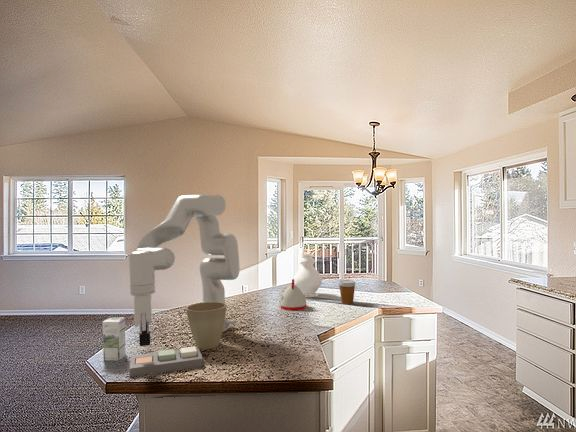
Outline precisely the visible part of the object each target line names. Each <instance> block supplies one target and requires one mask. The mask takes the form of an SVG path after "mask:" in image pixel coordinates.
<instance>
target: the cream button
mask: <svg viewBox="0 0 576 432" xmlns="http://www.w3.org/2000/svg"><path fill="white" fill-rule="evenodd" d="M196 347H197V346H187V347H180V348H179V349H180V356H181V358H185V357H192V356H197V350H196Z"/></svg>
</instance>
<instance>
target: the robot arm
mask: <svg viewBox="0 0 576 432" xmlns="http://www.w3.org/2000/svg"><path fill="white" fill-rule="evenodd" d="M172 204H173V205H172V206H171V208H170V209H169V211H168V213H167V215H166V217H165V218H164V219H163V221H162V222H161V223H159V224H158V225H157V226H155V227H154V228H152V229H150V230H149V231H148V232H147V233H145V234H144V235H143V236H142V237H141V239H140V240H139V242H138V243H137V245H136V247H135V248H134V251H132V252H130V254H129V256H128V262H129V265H128V266H129V288H130V289H129V290H130V296H133V317H134V319H133V320H134V322H133V323H134V327H135V328H137V327H138V326H139V336H138V337H139V347H145V346H150V345H151V331H150V325H151V322H152V314H153V312H152V310H153V308H152V307H153V306H152V303H153V301H152V295H153V294H155V293H156V281H155V279H156V278H155V276H156V275H155V271H165V270H168V269H170V268H171V267H172V266H173V265H174V263H175V258H176V257H175V253H174V252H173V251H172V250H171V249H170V248H167V247H160V246H161V245H162V244H164V243H167V242H170V241H173V240H176V239H178V238H179V237H181V236H183V235H184V234H185V232H186V230H187V228H188V226H189V225H190V222H191V220H192V219H193V218H194V219H195V221H196V222H197V224H198V228H199V239H200V249H201V252H202V254H204V255H206V256H223V257H207V258H204V259H203V260H201V262H200V264H199V274H200V278H201V279H200V280H201V287H202V288H201V289H202V302H222V303H225V304H226V299H225V297H226V294H225V293H226V290H225V286H224V284H223V283H222V281H233V280H236V279H237V278H239V276H240V275H239V274H240V269H241V267H240V254H239V242H238V240H237V237H236V236H235V235H233V234H232V233H227V232H226V233H225V232H223V233H221V231H220V223H219V220H218V217H217V216H221V215H223V214H224V213H225V211H226V208H227V202H226V200H225V198H224V196H223V195H220V194H186V195H184V194H183V195H180V196H178V198H176V200H175V201H174V203H172ZM236 324H237V320H236V319H232V318H229V319H227V318H226V317H225V321H224V327H223V331H222V333H225V332H227V331H228V330H229V329H230V325H236Z"/></svg>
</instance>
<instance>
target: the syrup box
mask: <svg viewBox="0 0 576 432" xmlns="http://www.w3.org/2000/svg"><path fill="white" fill-rule="evenodd" d="M102 348H103V349H102V350H103V351H102V352H103V361H104V360H113V361H121V360H122V359H123V358H124V357H125V356H126V355H127V350H126V317H108V318H106V319H104V320H103V321H102ZM120 359H121V360H120Z"/></svg>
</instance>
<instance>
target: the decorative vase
mask: <svg viewBox="0 0 576 432" xmlns="http://www.w3.org/2000/svg"><path fill="white" fill-rule="evenodd" d="M300 256H301V258H300V260H299V263H300V265H301V267H300V268H299V269H298V270H297V271H296V272H295V274H294V277H293V279H294V285H295V286H297V287H298V288H299V289H300V290H301V291H302V293H303V294H305V298H315V297H318V296H319V293H318V292H317V291H318V290H319V289H320V287H321V285H322V284H323V278H322V275H321V273H320V272H319V270H317V269H316V268H315V267H314V266H313V265H314V264H315V263H316V259H315V258H313V257H314V254H311V253H310V254H305V253H304V254H301V255H300Z"/></svg>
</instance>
